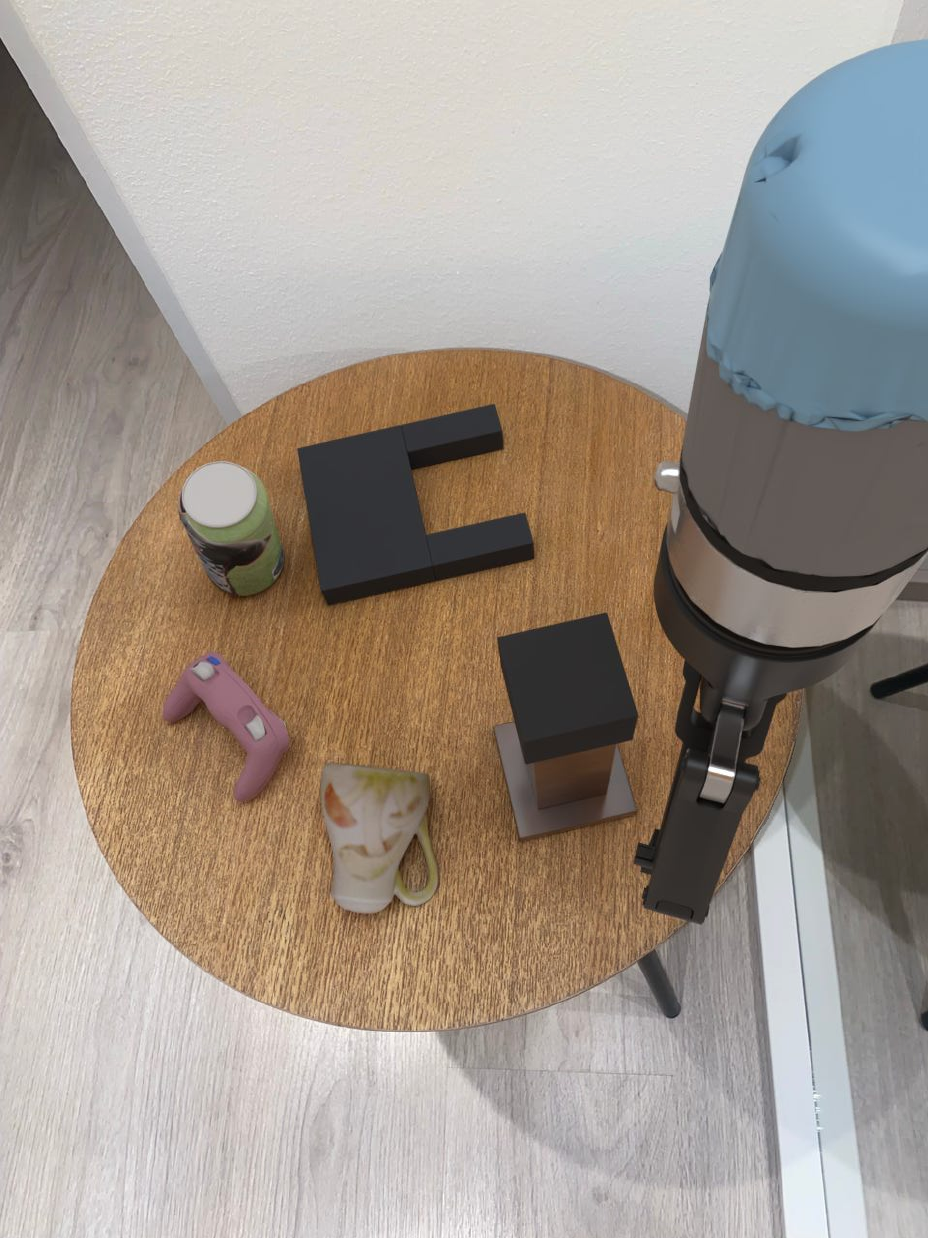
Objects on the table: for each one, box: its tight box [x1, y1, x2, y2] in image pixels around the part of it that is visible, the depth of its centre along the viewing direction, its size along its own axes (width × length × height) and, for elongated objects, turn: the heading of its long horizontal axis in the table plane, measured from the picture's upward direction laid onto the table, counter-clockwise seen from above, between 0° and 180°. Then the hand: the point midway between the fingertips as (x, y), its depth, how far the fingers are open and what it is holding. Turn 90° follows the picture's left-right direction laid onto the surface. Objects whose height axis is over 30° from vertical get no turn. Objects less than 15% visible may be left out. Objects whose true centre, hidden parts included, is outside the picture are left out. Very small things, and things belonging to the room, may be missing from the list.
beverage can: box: [177, 460, 285, 596], centre depth 70 cm, size 6×7×12 cm
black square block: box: [496, 612, 639, 764], centre depth 52 cm, size 6×6×4 cm
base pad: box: [296, 403, 535, 606], centre depth 75 cm, size 16×13×2 cm
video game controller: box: [161, 650, 291, 803], centre depth 67 cm, size 10×5×7 cm, turn 44°
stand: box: [492, 721, 638, 842], centre depth 60 cm, size 8×8×14 cm
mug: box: [319, 762, 440, 914], centre depth 63 cm, size 8×10×10 cm
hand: (695, 745), depth 51 cm, fingers open, 13 cm apart
